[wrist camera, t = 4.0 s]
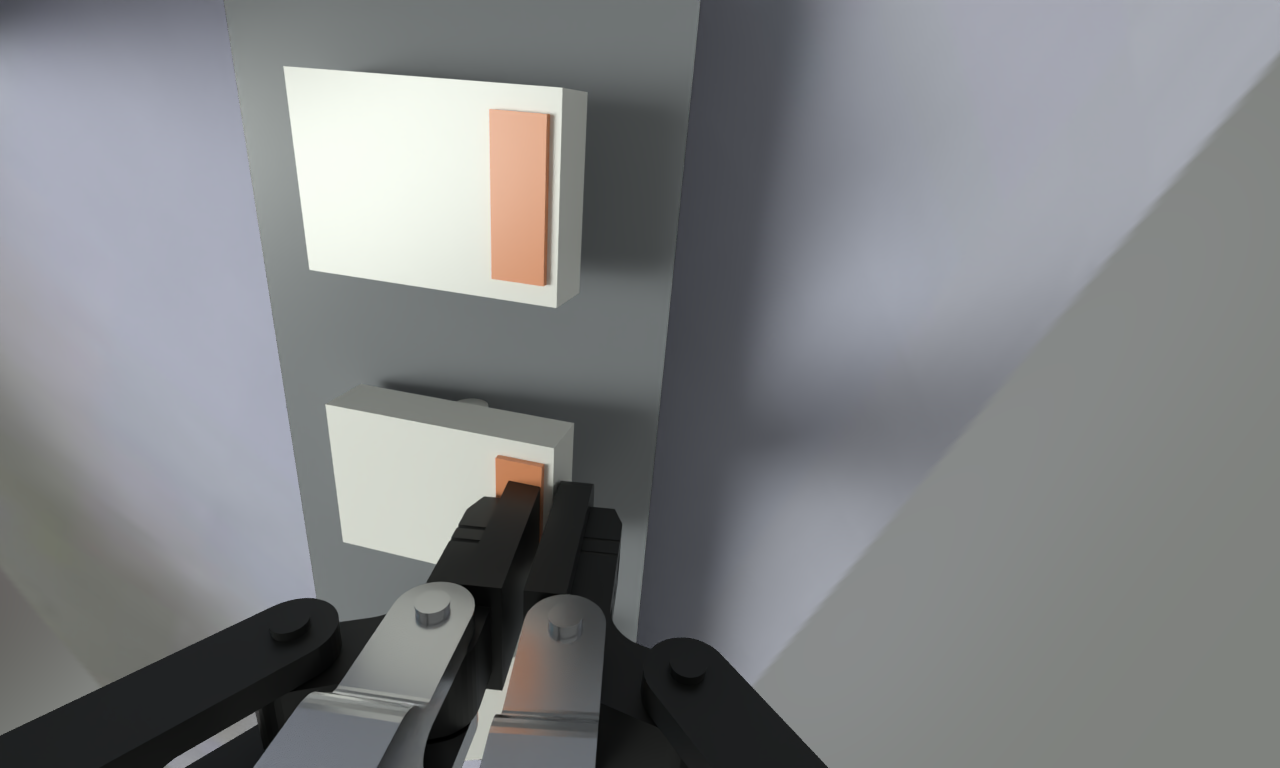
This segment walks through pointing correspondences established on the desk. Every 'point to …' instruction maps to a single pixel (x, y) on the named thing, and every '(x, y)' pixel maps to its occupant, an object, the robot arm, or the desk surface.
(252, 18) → the rocker switch panel
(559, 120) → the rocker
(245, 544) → the desk surface
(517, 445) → the rocker middle
